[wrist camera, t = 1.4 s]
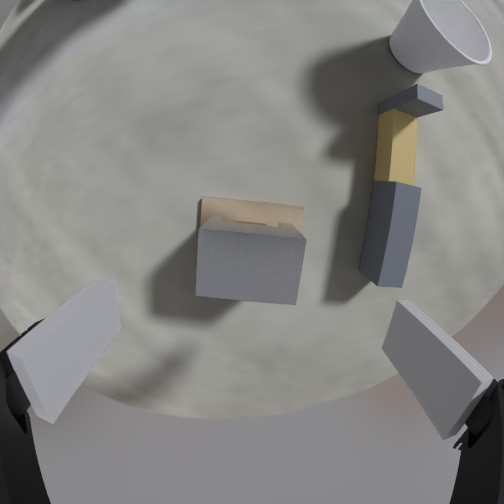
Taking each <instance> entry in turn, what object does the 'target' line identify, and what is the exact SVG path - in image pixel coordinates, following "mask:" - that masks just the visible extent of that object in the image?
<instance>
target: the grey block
mask: <svg viewBox="0 0 504 504" xmlns="http://www.w3.org/2000/svg"><path fill="white" fill-rule="evenodd" d="M305 245H306V238H305V237H304V236H303V235H302V234H301V233H300V232H299V231H298V230H297V229H296V228H295V227H294V226H293V225H292V224H291V223H283V222H279V223H278V227H274V226H265V225H255V224H245V223H235V222H225V217H224V216H213V215H212V216H211V217H210V218H209V219H208V220H207V221H206V222H205V223H204V224H203V225H202V226H201V227H200V228H199V233H198V250H197V271H196V296H202V297H211V298H221V299H231V300H241V301H252V302H263V303H276V304H290V305H296V299H297V294H298V288H299V282H300V276H301V270H302V264H303V258H304V252H305Z"/></svg>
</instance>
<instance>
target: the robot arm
mask: <svg viewBox="0 0 504 504" xmlns="http://www.w3.org/2000/svg"><path fill="white" fill-rule="evenodd" d="M120 331H121V325H120V317H119V309H118V300H117V289H116V278H115V277H108V276H100V277H99V278H98V279H96V280H95V281H94V282H92V283H91V284H89V285H88V286H87V287H85V288H84V289H83V290H81V291H80V292H79V293H77V294H76V295H75V296H73V297H72V298H71V299H69V300H68V301H67V302H66V303H64V304H63V305H62V306H60V307H59V308H58V309H57V310H55V311H54V312H53V313H52V314H50V315H49V316H48V317H47V318H45V319H42V320H40V321H38V322H36V323H34V324H33V325H32V326H31V327H29V328H28V330H27V331H25V332H23V333H22V334H21V336H19V337H17V338H16V339H15V340H14V341H13V342H11V343H10V344H9V345H8V346H7V347H6V348H5V349H4V350H2V351H1V352H0V504H51V503H50V500H49V497H48V494H47V491H46V488H45V485H44V482H43V479H42V475H41V471H40V467H39V464H38V460H37V455H36V450H35V446H34V440H33V435H32V429H31V422H30V417H29V414H28V412H27V409H28V407H29V406H30V405H31V406H32V408H33V410H34V411H35V413H36V415H37V416H38V417H39V418H41V419H43V420H45V421H47V422H49V423H51V424H54V423H55V421H56V420H57V418H58V417H59V415H60V414H61V412H62V411H63V409H64V408H65V406H66V405H67V403H68V402H69V400H70V399H71V398H72V396H73V395H74V393H75V392H76V390H77V389H78V388H79V386H80V385H81V383H82V382H83V380H84V379H85V378H86V376H87V375H88V374H89V372H90V371H91V369H92V368H93V367H94V365H95V364H96V363H97V361H98V360H99V359H100V357H101V356H102V354H103V353H104V352H105V350H106V349H107V348H108V347H109V345H110V344H111V343H112V341H113V340H114V339H115V337H116V336H117V335H118V333H119V332H120ZM382 350H383V351H384V352H385V354H386V355H387V357H388V358H389V359H390V361H391V362H392V364H393V365H394V366H395V368H396V369H397V371H398V372H399V374H400V375H401V377H402V378H403V379H404V381H405V382H406V384H407V385H408V387H409V388H410V390H411V391H412V393H413V394H414V395H415V397H416V399H417V400H418V402H419V403H420V405H421V406H422V408H423V409H424V411H425V412H426V414H427V415H428V417H429V418H430V420H431V422H432V423H433V425H434V426H435V428H436V429H437V431H438V433H439V434H440V436H441V437H442V439H443V440H444V439H447V438H449V437H451V436H454V435H456V434H457V433H458V431H459V430H460V429H461V427H462V426H463V425H464V424H466V425H467V427H468V428H467V430H466V431H465V432H464V433H463V435H462V436H461V437H460V438H459V440H458V441H457V442H456V443H455V445H454V447H453V448H454V449H455V448H456V447H457V446H458V445H459V444H460V443H462V445H461V446H460V448H459V450H461V456H460V462H459V467H458V472H457V476H456V481H455V485H454V489H453V493H452V497H451V500H450V504H504V379H502V380H500V381H499V382H497V381H496V380H495V379H494V378H493V377H492V376H491V375H490V374H489V373H488V372H487V371H486V370H485V369H484V368H483V367H482V366H481V365H480V364H479V363H478V362H477V361H476V360H475V359H474V358H473V357H472V356H471V355H470V354H469V353H468V352H467V351H465V350H464V349H463V348H462V347H461V346H460V345H459V344H458V343H457V342H456V341H455V340H454V339H453V338H451V337H450V336H449V335H448V334H447V333H446V332H445V331H444V330H443V329H441V328H440V327H439V326H438V325H437V324H436V323H435V322H434V321H432V320H431V319H430V318H429V317H428V316H427V315H426V314H424V313H423V312H422V311H421V310H420V309H419V308H417V307H416V306H415V305H414V304H413V303H411V302H410V301H409V300H397V302H396V306H395V309H394V313H393V316H392V319H391V322H390V325H389V328H388V331H387V334H386V337H385V340H384V343H383V346H382Z"/></svg>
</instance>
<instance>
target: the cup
mask: <svg viewBox="0 0 504 504" xmlns="http://www.w3.org/2000/svg"><path fill="white" fill-rule="evenodd" d="M389 45H390V49H391V51H392V53H393V55H394V56H395V58H396V59H397V60H398V62H399V63H400V64H401V65H403V66H404V67H405V68H406V69H408V70H410V71H412V72H415V73H425V72H430V71H434V70H440V69H445V68H451V67H457V66H465V65H473V64H477V65H486V64H488V63H489V62H490V59H491V53H492V51H491V45H490V42H489V39H488V37H487V34H486V32H485V30H484V28H483V27H482V25H481V23H480V22H479V20H478V19H477V17H476V16H475V15H474V14H473V12H472V11H471V10H470V9H469V8H468V7H467V6H466V5H465V4H464V3H463V2H462V1H461V0H413V1H412V2H411V4H410V6H409V7H408V9H407V11H406V13H405V14H404V16H403V18H402V19H401V20H400V22H399V24H398V26H397V27H396V29H395V30H394V32H393V33H392V35H391V37H390V39H389Z"/></svg>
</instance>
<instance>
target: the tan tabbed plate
mask: <svg viewBox="0 0 504 504" xmlns="http://www.w3.org/2000/svg"><path fill="white" fill-rule="evenodd" d="M303 210H304V208H303V207H297V206H289V205H280V204H272V203H263V202H253V201H243V200H233V199H221V198H209V197H202V207H201V221H200V227H201V226H202V225H203V224H204V223H205V222H206V221H207V220H208V219H209V218H210V217H211V216H212V215H213V216H224V217H225V222H235V223H245V224H255V225H265V226H274V227H278V223H279V222H283V223H291V224H292V225H293V226H294V227H295V228H296V229H297V230H298V231H299V232H301V225H302V217H303Z"/></svg>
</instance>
